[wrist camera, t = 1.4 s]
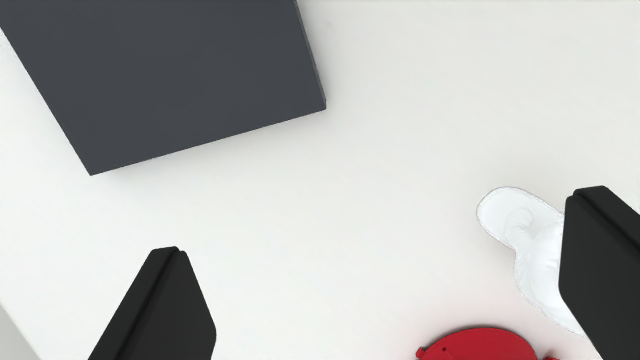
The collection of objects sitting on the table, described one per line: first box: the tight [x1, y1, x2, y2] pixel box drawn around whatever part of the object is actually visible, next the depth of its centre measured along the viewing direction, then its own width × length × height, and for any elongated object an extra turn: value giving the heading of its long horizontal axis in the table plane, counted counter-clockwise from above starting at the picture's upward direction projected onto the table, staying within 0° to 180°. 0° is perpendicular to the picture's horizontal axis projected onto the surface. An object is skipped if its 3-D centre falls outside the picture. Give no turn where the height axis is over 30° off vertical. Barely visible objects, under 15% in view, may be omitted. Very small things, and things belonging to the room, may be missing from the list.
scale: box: [0, 0, 326, 176], centre depth 24 cm, size 16×14×4 cm
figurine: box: [477, 187, 594, 346], centre depth 26 cm, size 9×6×12 cm
